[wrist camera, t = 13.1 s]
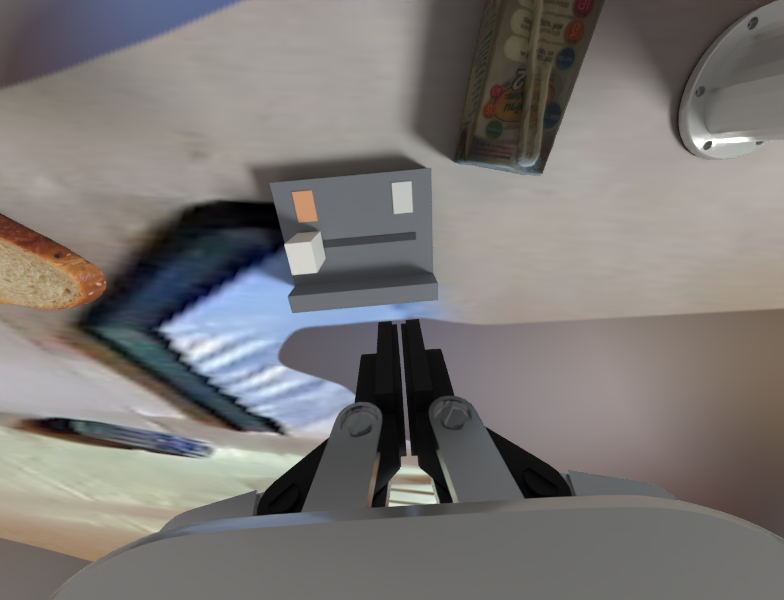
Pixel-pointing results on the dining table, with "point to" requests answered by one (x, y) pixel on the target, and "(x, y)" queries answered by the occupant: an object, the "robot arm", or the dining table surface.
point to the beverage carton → (523, 81)
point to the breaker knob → (305, 253)
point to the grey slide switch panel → (362, 238)
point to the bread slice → (43, 271)
